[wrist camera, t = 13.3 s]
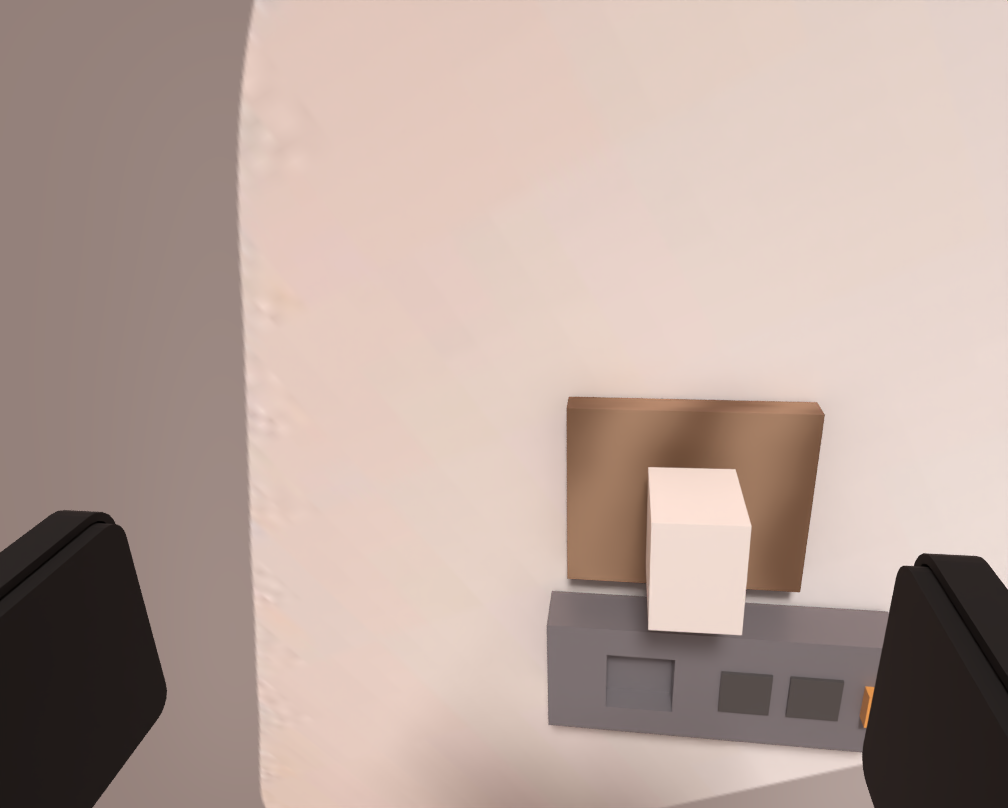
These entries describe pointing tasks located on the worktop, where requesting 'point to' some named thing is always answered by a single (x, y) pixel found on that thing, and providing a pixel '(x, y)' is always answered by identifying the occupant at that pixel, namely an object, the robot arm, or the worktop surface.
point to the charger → (696, 550)
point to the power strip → (715, 673)
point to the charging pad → (689, 444)
